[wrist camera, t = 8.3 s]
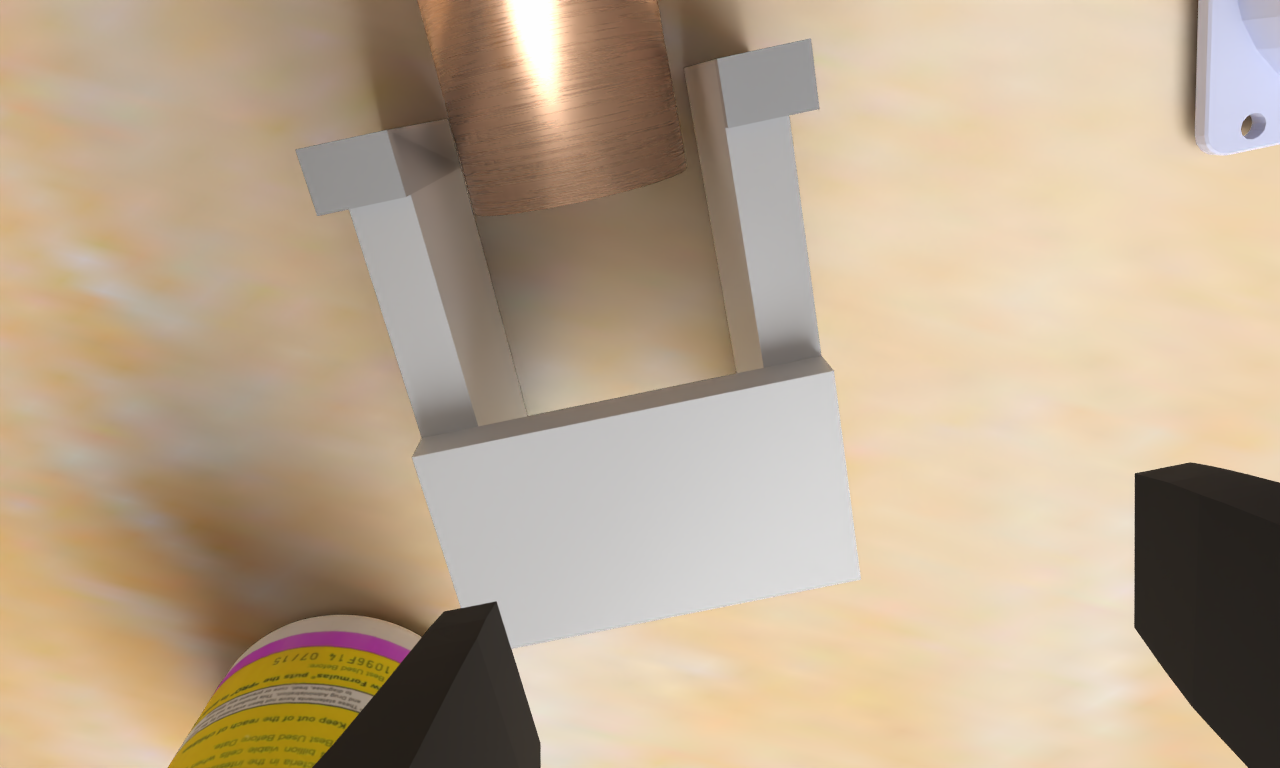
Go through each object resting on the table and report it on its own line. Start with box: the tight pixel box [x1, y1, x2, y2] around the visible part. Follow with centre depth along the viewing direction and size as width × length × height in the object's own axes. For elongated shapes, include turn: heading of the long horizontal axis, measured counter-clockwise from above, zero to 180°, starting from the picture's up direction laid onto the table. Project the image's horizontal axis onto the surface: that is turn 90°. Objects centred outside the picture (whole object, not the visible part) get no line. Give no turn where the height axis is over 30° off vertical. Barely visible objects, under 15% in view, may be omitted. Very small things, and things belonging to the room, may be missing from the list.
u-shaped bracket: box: [296, 39, 861, 649], centre depth 16 cm, size 8×9×6 cm
